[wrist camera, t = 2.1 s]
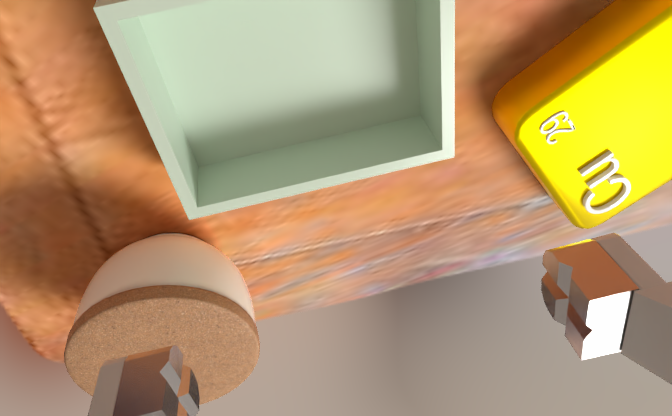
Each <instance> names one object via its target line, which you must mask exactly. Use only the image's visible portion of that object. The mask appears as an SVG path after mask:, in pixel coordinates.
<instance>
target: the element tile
mask: <svg viewBox="0 0 672 416" xmlns="http://www.w3.org/2000/svg"><path fill="white" fill-rule="evenodd" d="M492 115H493V117H494V120H495V121H496V123H497V124H498V126H499V127H500V128H501V130H502V131H503V132H504V134H505V135H506V137H507V138H508V139H509V141H510V142H511V144H512V145H513V146H514V148H515V149H516V151H517V152H518V153H519V155H520V156H521V157H522V159H523V160H524V162H525V163H526V164H527V166H528V167H529V169H530V170H531V171H532V173H533V174H534V176H535V177H536V178H537V180H538V181H539V182H540V184H541V185H542V187H543V188H544V189H545V191H546V192H547V194H548V195H549V196H550V198H551V199H552V200H553V201H554V202H555V204H556V205H557V206H558V207H559V209H560V210H561V211H562V212H563V213H564V215H565V216H566V217H567V218H568V220H569V221H570V222H571V223H572V224H573V225H574V226H576V227H579V228H582V229H583V228H586V229H589V228H592V227H595V226H597V225H599V224H602V223H604V222H605V221H607V220H608V219H610V218H612V217H613V216H615V215H616V214H618V213H619V212H621V211H623V210H624V209H626V208H627V207H629V206H631V205H632V204H634V203H635V202H637V201H639V200H640V199H642V198H643V197H645V196H646V195H648V194H650V193H651V192H653V191H654V190H656V189H658V188H659V187H661V186H662V185H664V184H666V183H667V182H669V181H670V180H672V0H615V1H614V2H613V3H611V4H610V5H609V6H607V7H606V8H605V9H603V10H602V11H601V12H599V13H598V14H597V15H595V16H594V17H593V18H592V19H590V20H589V21H588V22H586V23H585V24H584V25H582V26H581V27H580V28H578V29H577V30H576V31H574V32H573V33H572V34H570V35H569V36H568V37H567V38H565V39H564V40H563V41H561V42H560V43H559V44H557V45H556V46H555V47H553V48H552V49H551V50H549V51H548V52H547V53H545V54H544V55H543V56H542V57H540V58H539V59H538V60H536V61H535V62H534V63H532V64H531V65H530V66H528V67H527V68H526V69H524V70H523V71H522V72H520V73H519V74H518V75H517V76H515V77H514V78H513V79H511V80H510V81H509V82H507V83H506V84H505V85H504V86H503V87H502V88H501V89H500V91H499V92H498V93H497V95H496V96H495V98H494V101H493V104H492Z"/></svg>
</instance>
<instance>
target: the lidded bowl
mask: <svg viewBox="0 0 672 416" xmlns="http://www.w3.org/2000/svg"><path fill="white" fill-rule="evenodd" d="M172 345H176V346H178V348H179V349H180V351H181V352H182V354H183V365H185V366H188V367H190V368H191V369H192V371H193V373H194V375H195V377H196V380H197V383H198V389H199V397H200V402H199V405H200V404H204V403H207V402H209V401H212V400H215V399H217V398H219V397H221V396H223V395H225V394H227V393H229V392H230V391H232V390H233V389H235V388H237V387H238V386H239V385H240V384H241V383H242V382H243V381H245V379H246V378H247V377H248V376H249V375H250V374H251V372H252V371H253V369H254V367H255V366H256V364H257V361H258V358H259V352H260V343H259V336H258V331H257V327H256V321H255V314H254V308H253V304H252V300H251V296H250V292H249V289H248V287H247V285H246V282H245V280H244V278H243V276H242V274H241V272H240V271H239V270H238V268H237V267H236V265H235V264H234V263H233V261H232V260H231V259H229V258H228V257H227V256H226V255H225V254H224V253H223V252H222V251H220V250H219V249H217V248H216V247H214V246H213V245H210V244H208V243H206V242H204V241H202V240H201V239H199V238H196V237H194V236H191V235H187V234H182V233H162V234H157V235H153V236H150V237H148V238H145V239H143V240H139V241H137V242H134V243H132V244H130V245H128V246H126V247H125V248H123V249H121V250H120V251H118V252H117V253H115V254H114V255H113V256H111V257H110V258H109V259H108V260H107V261H106V262H105V263H104V264H103V265H102V266H101V267H100V269H99V270H98V271H97V272H96V273H95V275H94V276H93V278H92V280H91V281H90V283H89V285H88V287H87V289H86V291H85V292H84V295H83V297H82V299H81V302H80V304H79V307H78V310H77V313H76V316H75V321H74V325H73V327H72V329H71V330H70V332H69V335H68V339H67V343H66V347H65V352H64V360H65V365H66V368H67V371H68V373H69V374H70V376H71V377H72V379H73V381H74V382H75V383H76V384H77V385H78V386H79V387H80V388H82V389H83V390H84V391H85V392H87V393H88V394H90V395H91V396H93V394H94V390H95V386H96V383H97V379H98V375H99V371H100V368H101V366H102V365H103V364H104V362H105V361H108V360H112V359H117V358H121V357H126V356H128V355H133V354H137V353H141V352H146V351H150V350H155V349H159V348H164V347H168V346H172Z"/></svg>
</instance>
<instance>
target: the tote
mask: <svg viewBox="0 0 672 416" xmlns="http://www.w3.org/2000/svg"><path fill="white" fill-rule="evenodd" d="M93 9H94V11H95V14H96V16H97V18H98V20H99V22H100V25H101V27H102V29H103V31H104V33H105V36H106V38H107V40H108V42H109V44H110V47H111V49H112V51H113V53H114V55H115V58H116V60H117V62H118V64H119V66H120V69H121V71H122V73H123V75H124V77H125V80H126V82H127V84H128V86H129V89H130V91H131V93H132V95H133V97H134V100H135V102H136V104H137V106H138V108H139V111H140V113H141V115H142V117H143V119H144V122H145V124H146V126H147V128H148V130H149V133H150V135H151V137H152V139H153V141H154V144H155V146H156V148H157V150H158V152H159V155H160V157H161V159H162V161H163V163H164V166H165V168H166V170H167V172H168V175H169V177H170V179H171V181H172V183H173V186H174V188H175V190H176V192H177V194H178V197H179V199H180V201H181V203H182V205H183V208H184V210H185V212H186V214H187V216H188V219H189V220H191V219H195V218H199V217H204V216H208V215H212V214H216V213H221V212H225V211H229V210H233V209H237V208H242V207H246V206H250V205H254V204H259V203H263V202H267V201H271V200H275V199H280V198H284V197H288V196H292V195H297V194H301V193H305V192H309V191H313V190H318V189H322V188H326V187H330V186H335V185H339V184H343V183H347V182H351V181H356V180H360V179H364V178H368V177H373V176H377V175H381V174H385V173H389V172H394V171H398V170H402V169H406V168H411V167H415V166H419V165H423V164H427V163H432V162H436V161H440V160H444V159H449V158H453V157H454V137H455V0H97V1H96V3H95V5H94V7H93Z"/></svg>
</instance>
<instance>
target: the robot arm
mask: <svg viewBox="0 0 672 416" xmlns="http://www.w3.org/2000/svg"><path fill="white" fill-rule="evenodd" d="M543 266H544V267H545V268H546V270H547V273H546V274H545V275H544V276H543V278H542V280H541V284H542V285H541V291H542V294H543V299H544V302H545V305H546V307H547V309H548V311H549V313H550V314H551V316H552V317H553V319H554V320H555V321H557V322H560V323H561V324H563V325H565V326H566V329H565V337H566V338H567V340H568V341H569V343H570V344H571V346H572V347H573V349H574V350H575V352H576V353H577V355H578V356H579V358H580V359H581V360H584V359H589V358H593V357H598V356H602V355H606V354H611V353H615V352H620V351H621V354H623V355H625V356H626V357H628V358H629V359H631V360H633V361H634V362H636V363H637V364H639V365H641V366H643V367H644V368H646V369H648V370H649V371H650V372H652V373H654V374H656V375H657V376H659V377H661V378H662V379H663V380H665V381H667V382H669V383H670V384H672V282H668V283H666V282H665V281H664V280H663V279H662V278H661V277H660V276H659V275H658V274H657V273H656V272H655V271H654V270H653V269H652V268H651V267H650V266H649V265H648V264H647V263H646V262H645V261H644V260H643V259H642V258H641V257H640V256H639V255H638V254H637V253H636V252H635V251H634V250H633V249H632V248H631V247H630V246H629V245H628V244H627V243H626V242H625V241H624V240H623V239H622V238H621V237H620V236H619V235H618V234H615V233H611V234H608V235H604V236H600V237H596V238H592V239H590V240H584V241H580V242H577V243H573V244H569V245H565V246H562V247H558V248H554V249H550V250H546V251H545V253H544V255H543ZM199 402H200V397H199V389H198V383H197V380H196V377H195V375H194V373H193V371H192V369H191V368H190V367H188V366H185V365H183V354H182V352H181V351H180V349H179V348H178V346H176V345H172V346H168V347H164V348H159V349H155V350H150V351H146V352H141V353H137V354H133V355H128V356H126V357H121V358H117V359H112V360H108V361H105V362H104V364H103V365H102V366H101V368H100V371H99V375H98V379H97V383H96V386H95V390H94V394H93V398H92V402H91V405H90V409H89V413H88V416H196V414H197V413H198V411H199Z"/></svg>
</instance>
